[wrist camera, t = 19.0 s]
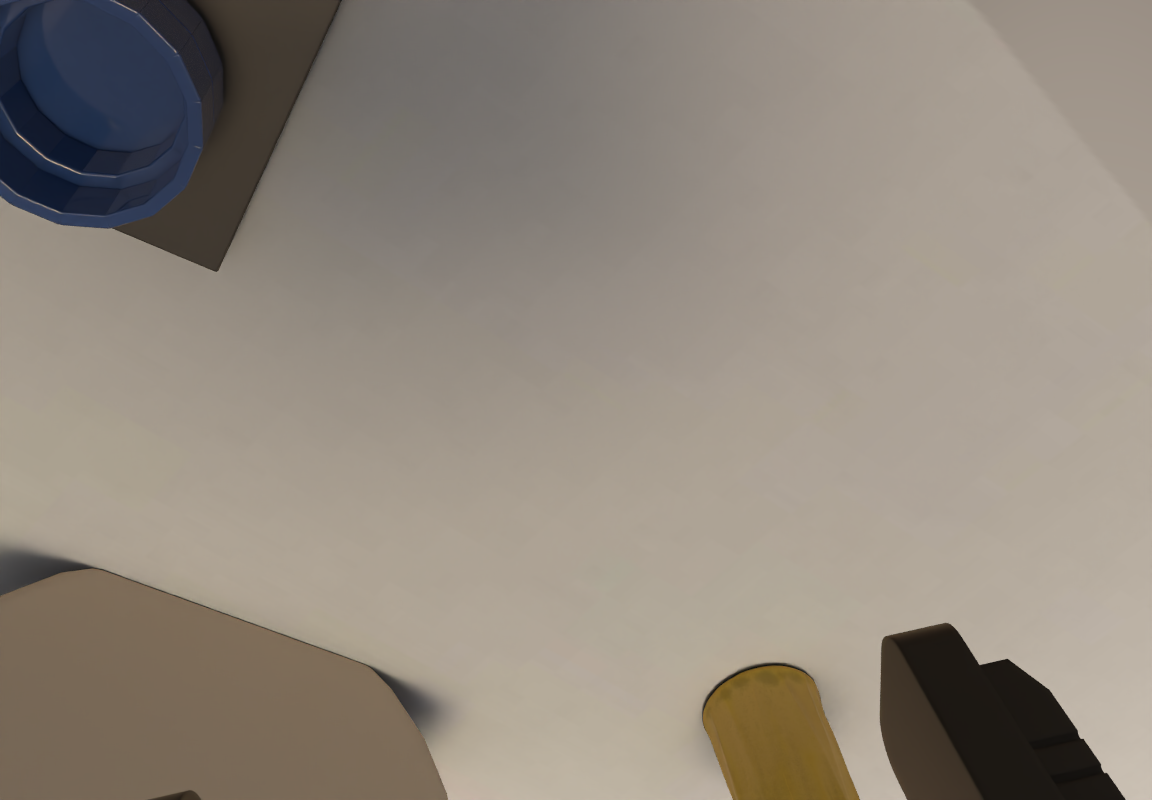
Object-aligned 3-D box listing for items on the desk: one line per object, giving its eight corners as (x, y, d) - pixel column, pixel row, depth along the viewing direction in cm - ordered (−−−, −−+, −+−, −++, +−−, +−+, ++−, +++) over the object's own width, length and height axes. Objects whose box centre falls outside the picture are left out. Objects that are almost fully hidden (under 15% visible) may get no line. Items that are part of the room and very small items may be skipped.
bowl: (30, -97, 28) (-27, -72, 24) (258, 23, 30) (239, 63, 26) (-35, 110, 30) (-95, 161, 26) (181, 205, 33) (153, 264, 29)
